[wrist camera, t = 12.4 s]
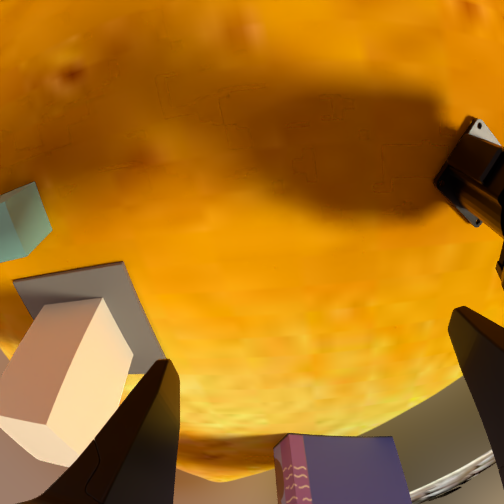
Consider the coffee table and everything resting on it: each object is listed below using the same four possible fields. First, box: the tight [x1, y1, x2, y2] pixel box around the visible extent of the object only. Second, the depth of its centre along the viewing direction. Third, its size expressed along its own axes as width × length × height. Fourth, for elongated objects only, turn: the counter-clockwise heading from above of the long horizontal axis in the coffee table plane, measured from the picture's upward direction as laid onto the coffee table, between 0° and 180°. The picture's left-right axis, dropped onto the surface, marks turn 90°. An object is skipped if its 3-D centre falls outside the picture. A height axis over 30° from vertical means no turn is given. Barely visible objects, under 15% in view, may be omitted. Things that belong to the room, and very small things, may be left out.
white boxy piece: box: [0, 298, 134, 467], centre depth 20 cm, size 7×7×12 cm
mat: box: [13, 262, 166, 374], centre depth 25 cm, size 12×12×1 cm
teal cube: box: [0, 182, 52, 263], centre depth 18 cm, size 4×4×4 cm
